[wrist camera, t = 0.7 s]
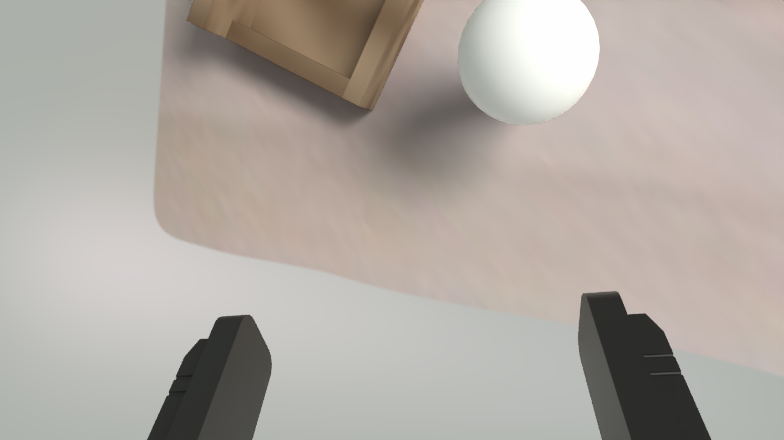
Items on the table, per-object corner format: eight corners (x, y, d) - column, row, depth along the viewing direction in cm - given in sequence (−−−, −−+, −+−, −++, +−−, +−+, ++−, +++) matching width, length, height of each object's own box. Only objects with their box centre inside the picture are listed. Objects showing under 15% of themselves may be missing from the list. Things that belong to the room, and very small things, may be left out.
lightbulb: (464, 115, 32) (425, 90, 22) (502, 17, 31) (478, -60, 20) (560, 149, 31) (567, 140, 20) (603, 47, 30) (634, -18, 19)
